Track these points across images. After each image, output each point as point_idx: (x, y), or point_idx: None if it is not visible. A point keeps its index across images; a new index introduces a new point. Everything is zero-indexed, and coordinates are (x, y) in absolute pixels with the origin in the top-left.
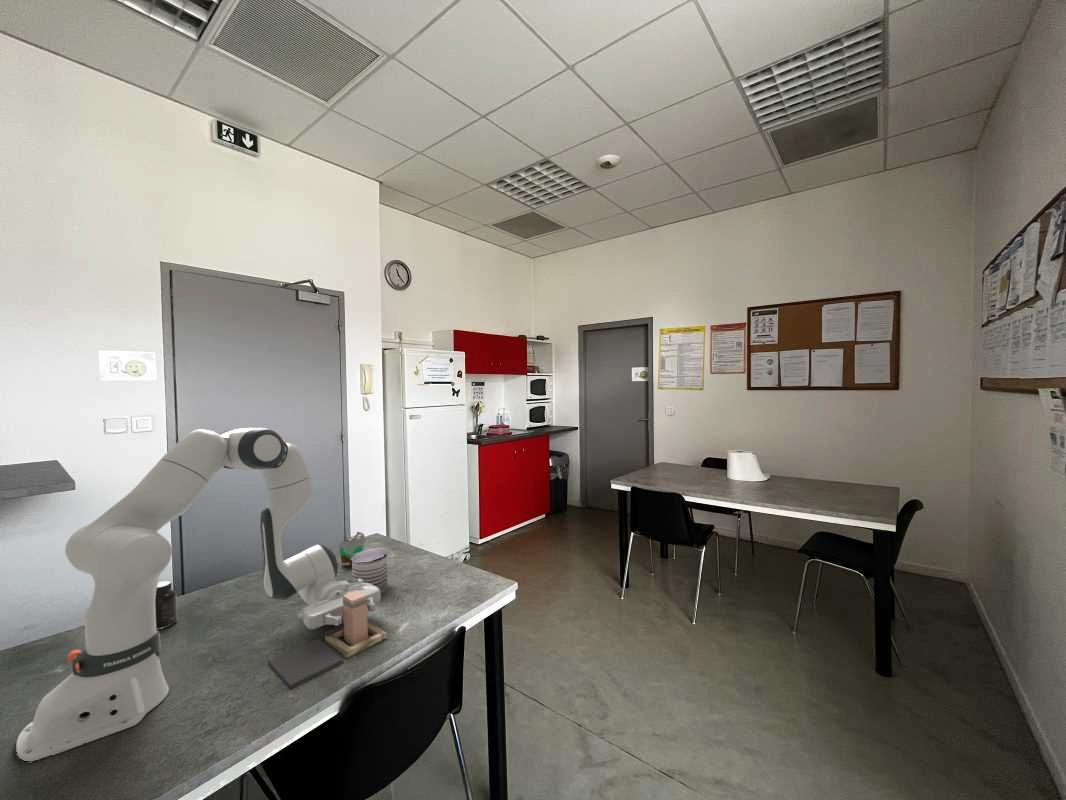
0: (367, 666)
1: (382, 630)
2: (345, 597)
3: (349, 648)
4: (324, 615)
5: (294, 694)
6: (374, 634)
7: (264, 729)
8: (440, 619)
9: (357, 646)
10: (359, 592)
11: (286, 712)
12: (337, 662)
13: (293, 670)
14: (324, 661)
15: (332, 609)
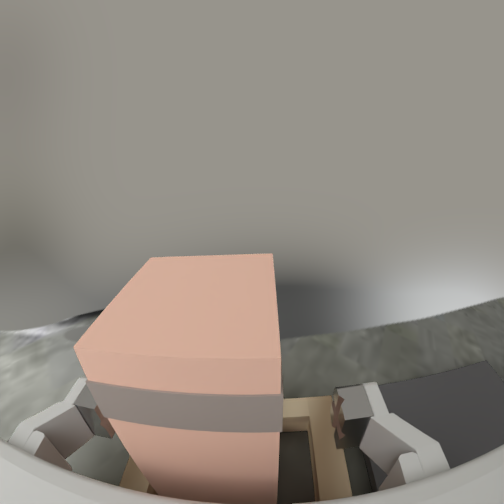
0: (295, 347)
1: None
2: (276, 318)
3: (313, 408)
4: (448, 466)
5: (469, 348)
6: None
7: (491, 305)
8: (28, 355)
9: (283, 401)
10: (123, 301)
11: (471, 318)
12: None
13: (494, 409)
14: (407, 410)
15: (381, 490)
